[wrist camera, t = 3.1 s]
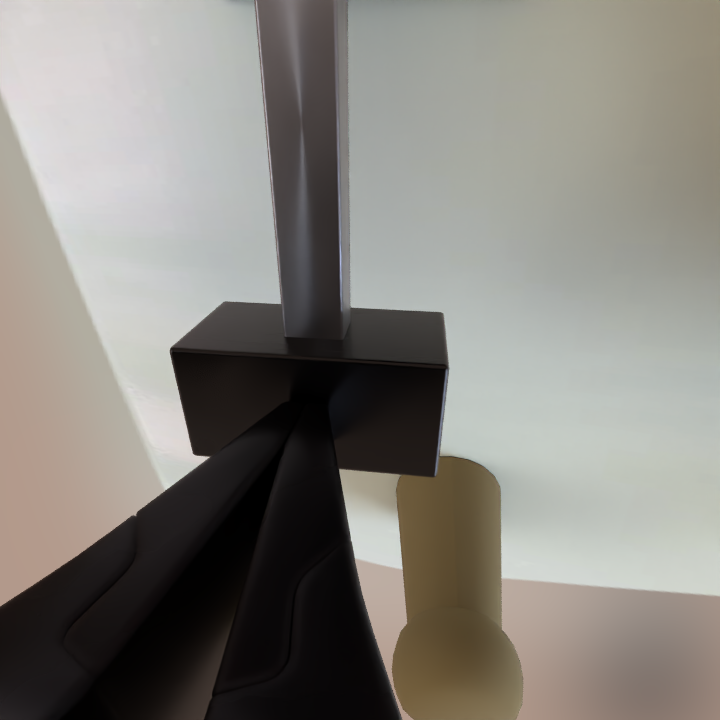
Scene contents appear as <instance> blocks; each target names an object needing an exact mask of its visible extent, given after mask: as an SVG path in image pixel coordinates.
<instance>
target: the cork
mask: <svg viewBox="0 0 720 720" xmlns="http://www.w3.org/2000/svg"><path fill="white" fill-rule="evenodd" d="M396 495H397V507H398V518H399V530H400V542H401V554H402V566H403V577H404V588H405V601H406V613H407V625H406V626H405V627H404V628H403V630H402V631H401V632H400V635H399V638H398V641H397V644H396V648H395V651H394V654H393V664H392V674H393V681H394V687H395V690H396V694H397V696H398V699H399V701H400V703H401V706H402V708H403V710H404V711H405V712H406V713H407V714H408V715H409V716H410V717H412V718H413V719H414V720H516V718H517V716H518V713H519V711H520V708H521V706H522V697H523V676H522V670H521V664H520V660H519V658H518V655H517V653H516V650H515V648H514V645H513V644H512V642H511V641H510V639H509V638H508V636H507V635H506V634H505V633H504V631H503V630H502V613H501V612H502V608H501V607H502V605H501V493H500V486H499V484H498V482H497V480H496V478H495V476H494V475H493V474H491V473H490V472H489V471H488V470H487V469H486V468H484V467H483V466H481V465H479V464H476V463H474V462H472V461H470V460H466V459H461V458H455V457H439V463H438V472H437V475H436V477H433V478H431V477H421V476H410V475H402V476H401V477H400V479H399V481H398V485H397V489H396Z"/></svg>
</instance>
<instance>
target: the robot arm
mask: <svg viewBox="0 0 720 720" xmlns="http://www.w3.org/2000/svg"><path fill="white" fill-rule="evenodd" d="M0 720H402V717H401V714H400V712H399V708H398V706H397V702H396V699H395V696H394V693H393V690H392V688H391V684H390V681H389V678H388V675H387V672H386V670H385V666H384V663H383V660H382V657H381V654H380V651H379V648H378V645H377V642H376V639H375V636H374V633H373V629H372V626H371V623H370V620H369V616H368V612H367V609H366V606H365V602H364V599H363V595H362V591H361V586H360V582H359V577H358V573H357V568H356V564H355V558H354V552H353V546H352V542H351V536H350V531H349V525H348V519H347V514H346V508H345V502H344V496H343V491H342V485H341V479H340V474H339V468H338V462H337V456H336V451H335V445H334V439H333V434H332V428H331V422H330V417H329V411H328V407H327V405H325V404H316V403H308V404H306V405H305V404H304V403H302V402H290V401H286V402H283V403H282V404H280V405H279V406H278V407H276V408H275V409H274V410H272V411H271V412H270V413H268V414H267V415H266V416H264V417H263V418H262V419H260V420H259V421H258V422H256V423H255V424H254V425H252V426H251V427H250V428H248V429H247V430H246V431H244V432H243V433H242V434H240V435H239V436H238V437H236V438H235V439H234V440H232V441H231V442H230V443H228V444H227V445H226V446H224V447H223V448H222V449H220V450H219V451H218V452H216V453H215V454H214V455H212V456H211V457H210V458H208V459H207V460H206V461H204V462H203V463H202V464H200V465H199V466H198V467H196V468H195V469H194V470H192V471H191V472H190V473H188V474H187V475H186V476H184V477H183V478H182V479H180V480H179V481H178V482H176V483H175V484H174V485H172V486H171V487H170V488H168V489H167V490H166V491H165V492H163V493H162V494H161V495H159V496H158V497H157V498H155V499H154V500H152V501H151V502H150V503H148V504H147V505H146V506H145V507H143V508H142V509H141V510H139V511H138V512H137V514H136V516H131V517H130V518H128V519H127V520H126V521H124V522H123V523H122V524H120V525H119V526H118V527H116V528H115V529H114V530H112V531H111V532H110V533H108V534H107V535H105V536H104V537H103V538H101V539H100V540H98V541H97V542H96V543H94V544H93V545H92V546H90V547H89V548H87V549H86V550H85V551H83V552H82V553H80V554H79V555H78V556H76V557H75V558H73V559H72V560H70V561H69V562H67V563H66V564H64V565H63V566H61V567H60V568H58V569H57V570H55V571H54V572H52V573H51V574H49V575H48V576H46V577H45V578H43V579H42V580H40V581H39V582H37V583H36V584H34V585H33V586H31V587H30V588H28V589H26V590H25V591H23V592H22V593H20V594H19V595H17V596H16V597H14V598H13V599H11V600H9V601H8V602H7V603H5V604H3V605H2V606H0Z"/></svg>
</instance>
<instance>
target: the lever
mask: <svg viewBox="0 0 720 720" xmlns="http://www.w3.org/2000/svg"><path fill="white" fill-rule="evenodd" d="M254 1H255V12H256V24H257V35H258V46H259V57H260V69H261V80H262V91H263V103H264V114H265V125H266V136H267V148H268V159H269V170H270V182H271V193H272V204H273V215H274V227H275V238H276V249H277V261H278V272H279V283H280V294H281V304H265V303H245V302H223V303H222V304H221V305H220V306H218V307H217V308H216V309H215V310H214V311H213V312H211V313H210V314H209V315H208V316H207V317H206V318H205V319H203V320H202V321H201V322H200V323H199V324H198V325H196V326H195V327H194V328H193V329H192V330H191V331H189V332H188V333H187V334H186V335H185V336H184V337H183V338H181V339H180V340H179V341H178V342H177V343H176V344H174V345H173V346H172V347H171V348H170V355H171V360H172V364H173V368H174V373H175V377H176V381H177V386H178V390H179V394H180V399H181V403H182V408H183V412H184V416H185V421H186V425H187V429H188V434H189V438H190V442H191V447H192V451H193V454H194V455H197V456H207V457H211V456H212V455H214V454H215V453H216V452H218V451H219V450H220V449H222V448H223V447H224V446H226V445H227V444H228V443H230V442H231V441H232V440H234V439H235V438H236V437H238V436H239V435H240V434H242V433H243V432H244V431H246V430H247V429H248V428H250V427H251V426H252V425H254V424H255V423H256V422H258V421H259V420H260V419H262V418H263V417H264V416H266V415H267V414H268V413H270V412H271V411H272V410H274V409H275V408H276V407H278V406H279V405H280V404H282V403H283V402H286V401H290V402H302V403H304V404H305V405H306V404H308V403H316V404H325V405H327V407H328V411H329V417H330V422H331V428H332V434H333V439H334V445H335V451H336V456H337V462H338V468H339V469H346V470H357V471H367V472H378V473H389V474H399V475H410V476H421V477H431V478H433V477H436V475H437V472H438V463H439V454H440V445H441V436H442V427H443V419H444V410H445V401H446V392H447V383H448V374H449V362H448V352H447V342H446V331H445V321H444V315H443V313H441V312H424V311H404V310H384V309H364V308H350V210H349V103H348V0H254Z"/></svg>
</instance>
